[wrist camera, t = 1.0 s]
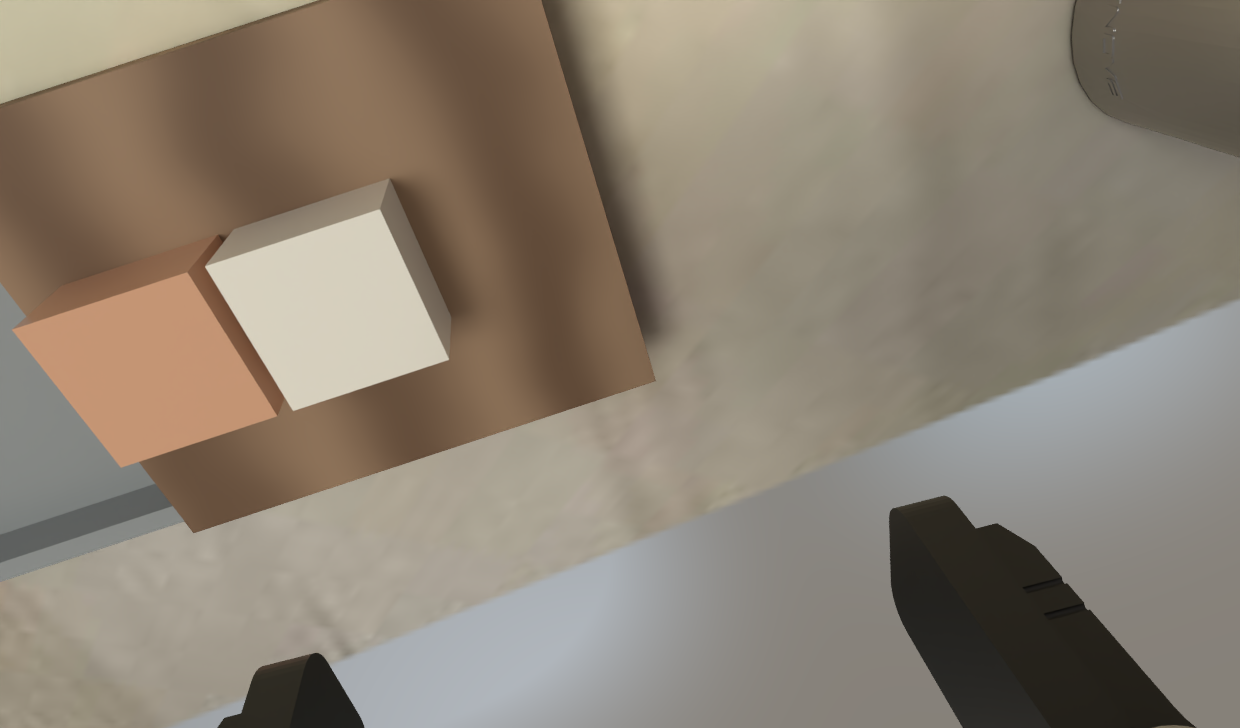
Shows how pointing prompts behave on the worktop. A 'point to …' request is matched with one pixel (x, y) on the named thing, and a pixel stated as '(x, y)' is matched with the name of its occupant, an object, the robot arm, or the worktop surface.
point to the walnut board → (326, 167)
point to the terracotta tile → (152, 355)
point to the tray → (59, 471)
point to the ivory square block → (334, 295)
